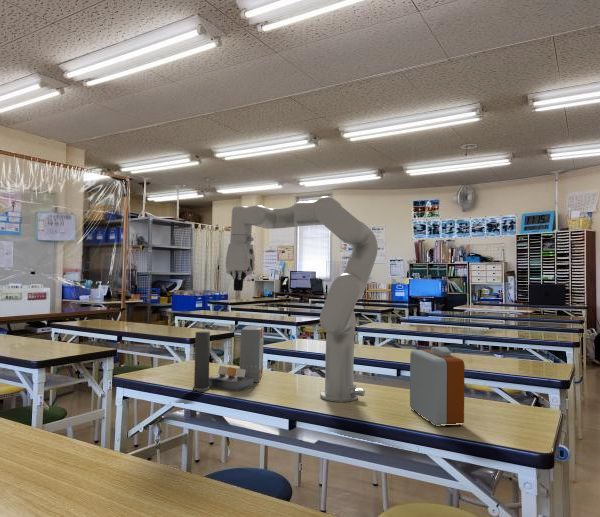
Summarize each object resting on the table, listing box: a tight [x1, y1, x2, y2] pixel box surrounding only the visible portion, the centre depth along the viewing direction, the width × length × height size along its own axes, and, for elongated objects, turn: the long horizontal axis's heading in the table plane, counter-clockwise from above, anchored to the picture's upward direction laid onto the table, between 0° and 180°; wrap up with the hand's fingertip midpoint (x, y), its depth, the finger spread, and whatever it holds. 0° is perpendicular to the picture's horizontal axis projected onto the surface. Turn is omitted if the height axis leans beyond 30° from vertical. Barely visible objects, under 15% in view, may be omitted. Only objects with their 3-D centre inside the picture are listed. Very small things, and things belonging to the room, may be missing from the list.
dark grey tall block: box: [192, 331, 211, 392], centre depth 165 cm, size 6×6×20 cm
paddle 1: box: [236, 367, 246, 379], centre depth 168 cm, size 2×3×4 cm, turn 151°
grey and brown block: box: [409, 346, 466, 425], centre depth 137 cm, size 18×9×21 cm, turn 9°
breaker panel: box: [209, 374, 254, 392], centre depth 170 cm, size 14×9×3 cm, turn 62°
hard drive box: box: [239, 325, 265, 383], centre depth 184 cm, size 16×8×20 cm, turn 179°
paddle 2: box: [227, 366, 237, 378], centre depth 170 cm, size 2×3×4 cm, turn 152°
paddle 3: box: [217, 365, 229, 376], centre depth 172 cm, size 2×3×4 cm, turn 152°
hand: (238, 290), depth 170 cm, fingers closed
